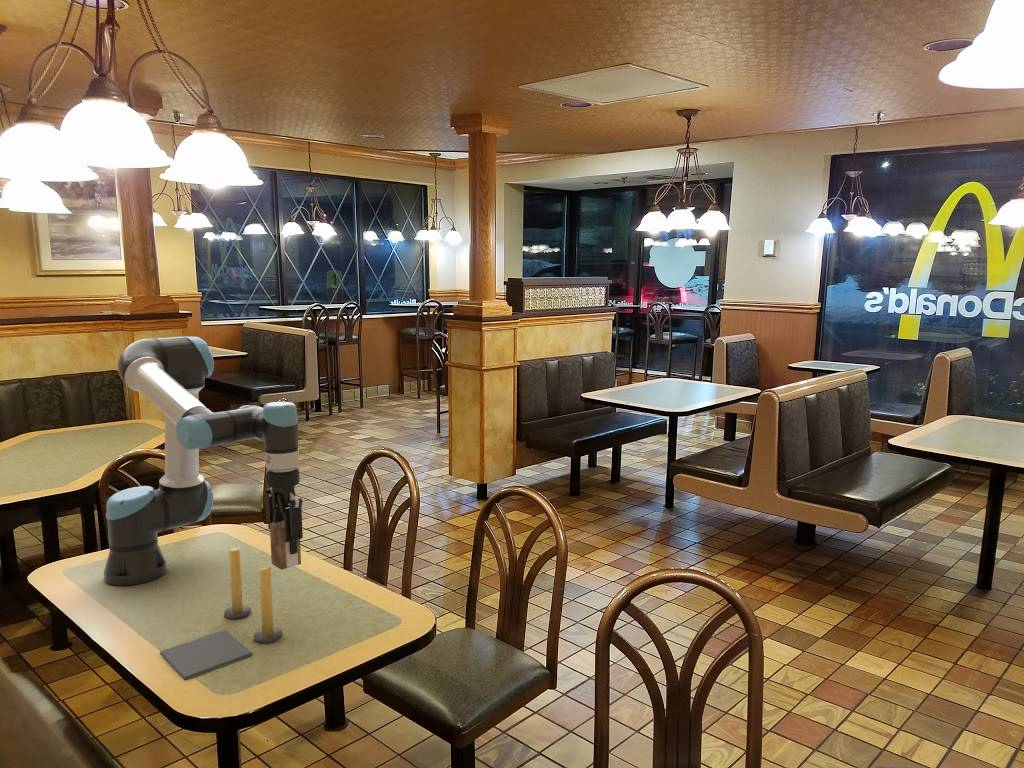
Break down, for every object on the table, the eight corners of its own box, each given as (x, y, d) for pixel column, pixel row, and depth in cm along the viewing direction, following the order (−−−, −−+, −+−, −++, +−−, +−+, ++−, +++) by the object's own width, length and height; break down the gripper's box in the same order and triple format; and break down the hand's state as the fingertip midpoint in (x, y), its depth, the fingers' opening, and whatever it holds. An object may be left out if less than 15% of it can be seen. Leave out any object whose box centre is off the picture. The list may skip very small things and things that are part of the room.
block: (271, 563, 170) (269, 523, 169) (290, 558, 174) (289, 518, 172) (281, 569, 167) (279, 528, 165) (301, 564, 170) (299, 523, 169)
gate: (220, 613, 171) (216, 549, 169) (244, 605, 175) (241, 543, 173) (261, 646, 156) (257, 576, 153) (286, 637, 160) (283, 569, 158)
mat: (160, 654, 152) (160, 651, 152) (225, 632, 162) (224, 629, 162) (184, 679, 142) (184, 677, 142) (252, 654, 152) (252, 652, 152)
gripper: (250, 463, 171) (254, 556, 174) (286, 478, 158) (290, 578, 161) (279, 458, 176) (283, 548, 179) (316, 472, 163) (319, 569, 166)
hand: (286, 562), depth 170 cm, fingers closed on block, 5 cm apart
